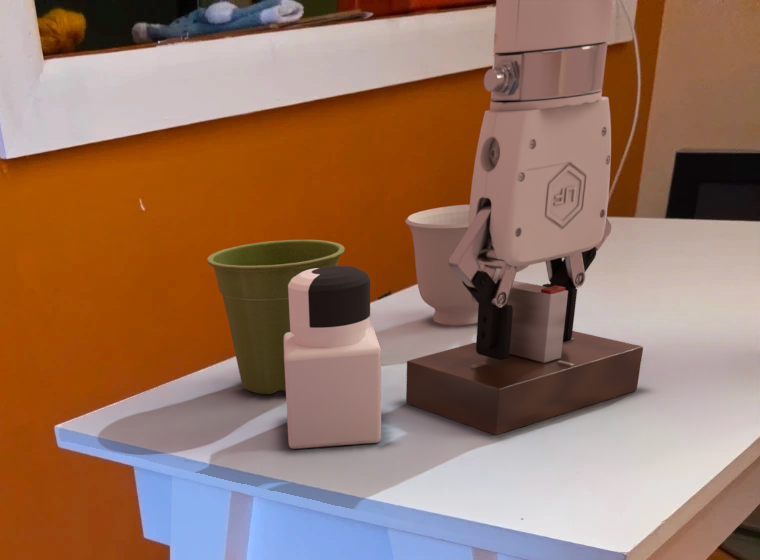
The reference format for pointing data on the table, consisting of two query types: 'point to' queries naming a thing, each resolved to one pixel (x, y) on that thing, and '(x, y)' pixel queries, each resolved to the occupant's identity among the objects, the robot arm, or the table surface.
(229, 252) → the plant pot
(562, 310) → the tap handle
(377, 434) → the medicine bottle
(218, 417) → the table surface
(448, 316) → the teacup
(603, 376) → the tap base
